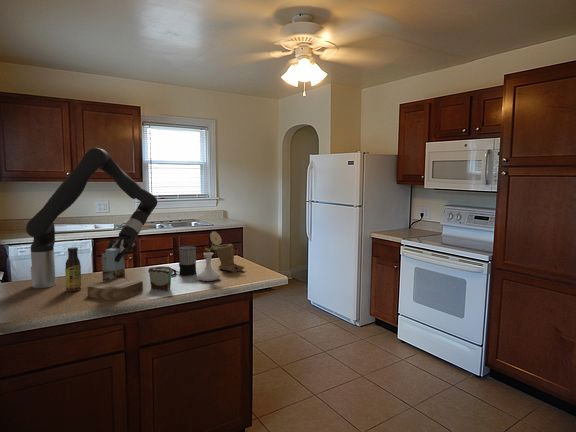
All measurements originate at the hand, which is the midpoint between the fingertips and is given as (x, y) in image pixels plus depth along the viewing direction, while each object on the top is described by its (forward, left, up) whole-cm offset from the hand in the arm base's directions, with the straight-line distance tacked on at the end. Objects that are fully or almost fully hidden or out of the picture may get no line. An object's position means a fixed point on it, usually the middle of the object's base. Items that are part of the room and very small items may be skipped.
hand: (111, 260), depth 166 cm
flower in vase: (+25, +39, -16) cm, 49 cm away
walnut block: (0, +2, -16) cm, 16 cm away
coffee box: (-13, +13, -16) cm, 24 cm away
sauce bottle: (-22, -2, -16) cm, 27 cm away
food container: (+14, +17, -16) cm, 27 cm away
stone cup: (+23, +60, -16) cm, 66 cm away
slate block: (0, +2, -4) cm, 5 cm away
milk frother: (+5, +40, -16) cm, 43 cm away
